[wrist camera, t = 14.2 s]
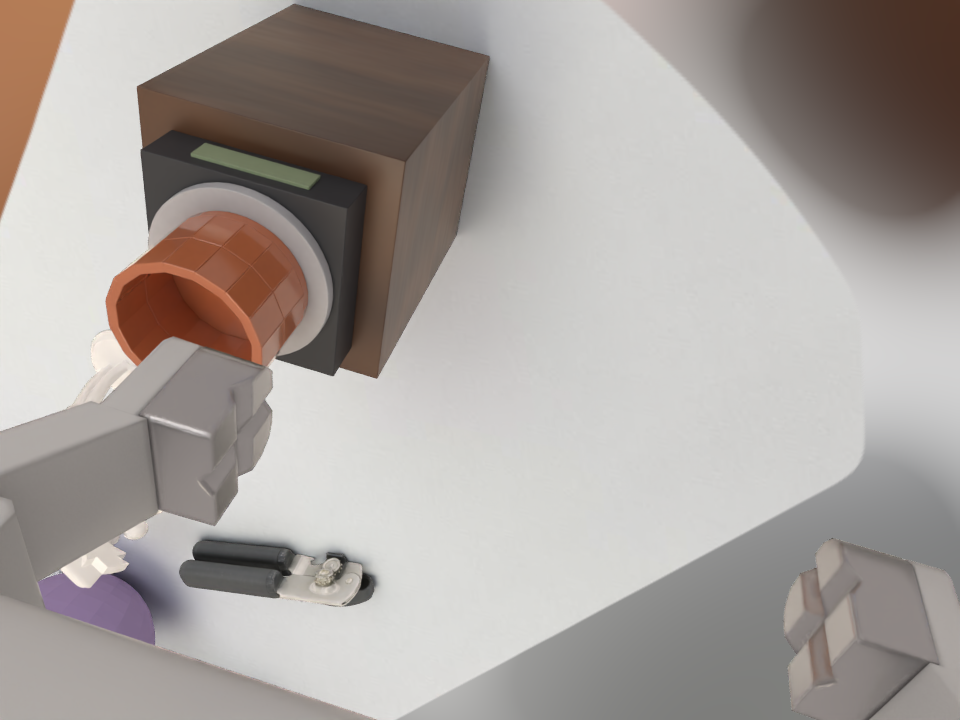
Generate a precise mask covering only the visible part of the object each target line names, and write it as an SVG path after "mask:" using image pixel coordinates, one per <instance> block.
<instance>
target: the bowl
mask: <svg viewBox="0 0 960 720" xmlns="http://www.w3.org/2000/svg"><path fill="white" fill-rule="evenodd" d="M307 306H308V289H307V283H306V280H305V277H304V274H303V271H302V269H301V267H300V265H299V263H298V261H297V260H296V258H295V256H294V255H293V254H292V252H291V251H290V250H289V248H288V247H287V246H286V245H285V244H284V243H283V242H282V241H281V240H280V239H279V238H278V237H277V236H276V235H275V234H274V233H272V232H271V231H270V230H268V229H267V228H266V227H264V226H262V225H261V224H259V223H257V222H255V221H253V220H251V219H249V218H247V217H244V216H241V215H239V214H235V213H231V212H225V211H207V212H201V213H198V214H195V215H192V216H191V217H189V218H187V219H185V220H184V221H183V222H182V223H181V224H179V225H178V226H177V227H175V228H174V229H172V230H171V231H169V232H168V233H167V234H166V235H165V236H163V237H162V238H161V239H160V240H159V241H157V242H156V243H155V244H154V245H153V246H151V247H150V248H149V249H148V250H147V251H145V252H144V253H143V254H142V255H141V256H139V257H138V258H137V259H136V260H135V261H133V262H132V263H131V264H130V265H128V266H127V267H126V268H125V269H124V270H122V271H121V272H120V273H119V274H118V275H116V276H115V277H114V278H113V281H112V284H111V286H110V289H109V292H108V294H107V297H106V308H107V315H108V321H109V326H110V329H111V331H112V332H113V334H114V336H115V338H116V340H117V341H118V343H119V345H120V347H121V349H122V350H123V352H124V353H125V355H126V356H127V357H128V358H129V359H130V360H131V361H132V362H133V363H134V364H135V365H136V366H138V365H139V364H140V363H141V362H142V361H143V360H144V359H145V358H146V357H147V356H148V355H149V354H150V353H151V352H152V351H153V350H154V349H155V348H156V347H157V346H158V345H159V344H160V343H161V342H162V341H163V340H165V339H168V338H170V337H173V336H174V337H177V338H180V339H183V340H186V341H189V342H192V343H194V344H197V345H200V346H203V347H205V346H206V347H209V348H212V349H215V350H218V351H221V352H224V353H227V354H230V355H233V356H236V357H239V358H242V359H245V360H248V361H251V362H254V363H258V364H261V365H264V366H267V367H269V366H270V365H271V363H272V362H273V361H274V359H275V358H276V357H277V355H278V354H279V353H280V351H281V350H282V349H283V347H284V346H285V345H286V343H287V342H288V341H289V339H290V338H291V337H292V335H293V334H294V332H295V331H296V329H297V327H298V326H299V325H300V323H301V322H302V320H303V318H304V316H305V314H306V311H307Z"/></svg>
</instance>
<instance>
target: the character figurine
mask: <svg viewBox="0 0 960 720" xmlns="http://www.w3.org/2000/svg"><path fill="white" fill-rule="evenodd" d="M162 512H163V511H161V510H158V514H159V513H162ZM156 515H157V514H156ZM147 531H148V525H147V523H146V522H144V521H143V522H142V523H140V524H138V525H136V526H135V527H133V528H131V529H129V530H128V531H126V532H124V533H123V534H124V536H125V537H126V538H127V539H129V540H137V539H140V538H142V537H143V536H145V535H146V533H147ZM119 538H120V535H119V536H117V537H115V538H114V539H112V540H110V541H108V542H107V543H105V544H103V545H101V546H100V547H98V548H96V549H94V550H93V551H91V552H89V553H87V554H85V555H84V556H82V557H80V558H78V559H77V560H75V561H73V562H71V563H70V564H68V565H66V566H64V567H63V568H61V569H60V570H61V571H62V572H63V573H64V574H65V575H66V576H67V577H68V578H69V579H70V580H71V581H72V582H73V583H74V584H75V585H77V586H79V587H81V588H84V587H85V588H91V587H92V585H93V584H94V583H95V582H96V581H97V580H98V578H99V577H100V576H101V575H103V574H112V573H116V572H120V571H124V570H125V569H126V567H127V566H128V564H129V563H128V562H126V561H124V560H122V559H123V558H124V556H125V555H126V554H127V553H125V552H123V551H121V550H120V549H118V548H116V547H114V546H113V545H114V544H116V543H117V542H118V541H119Z"/></svg>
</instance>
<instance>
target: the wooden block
mask: <svg viewBox="0 0 960 720" xmlns="http://www.w3.org/2000/svg"><path fill="white" fill-rule="evenodd" d="M489 59H490V56H487V55H483V54H480V53H476V52H472V51H468V50H465V49H461V48H457V47H453V46H450V45H446V44H442V43H438V42H435V41H431V40H427V39H423V38H420V37H416V36H412V35H409V34H405V33H401V32H397V31H394V30H390V29H386V28H382V27H379V26H375V25H371V24H367V23H364V22H360V21H356V20H352V19H349V18H345V17H341V16H337V15H334V14H330V13H326V12H322V11H319V10H315V9H311V8H307V7H304V6H300V5H296V4H293V5H291V6H289V7H287V8H285V9H284V10H282V11H280V12H278V13H276V14H274V15H272V16H270V17H268V18H266V19H265V20H263V21H261V22H259V23H257V24H255V25H253V26H251V27H249V28H247V29H245V30H244V31H242V32H240V33H238V34H236V35H234V36H232V37H230V38H228V39H226V40H225V41H223V42H221V43H219V44H217V45H215V46H213V47H211V48H209V49H207V50H206V51H204V52H202V53H200V54H198V55H196V56H194V57H192V58H190V59H188V60H186V61H185V62H183V63H181V64H179V65H177V66H175V67H173V68H171V69H169V70H167V71H166V72H164V73H162V74H160V75H158V76H156V77H154V78H152V79H150V80H148V81H146V82H145V83H143V84H141V85H139V86H137V94H138V105H139V115H140V125H141V135H142V146H143V148H144V147H146V146H147V145H149V144H150V143H152V142H154V141H155V140H157V139H158V138H160V137H161V136H163V135H164V134H166V133H168V132H169V131H171V130H174V131H177V132H181V133H184V134H188V135H192V136H195V137H199V138H202V139H206V140H209V141H213V142H216V143H220V144H223V145H227V146H231V147H234V148H238V149H241V150H245V151H248V152H252V153H255V154H259V155H262V156H266V157H269V158H273V159H277V160H280V161H284V162H287V163H291V164H294V165H298V166H301V167H305V168H308V169H312V170H316V171H319V172H323V173H326V174H330V175H333V176H337V177H340V178H344V179H347V180H351V181H355V182H358V183H362V184H365V185H367V196H366V206H365V216H364V226H363V236H362V246H361V256H360V266H359V276H358V286H357V296H356V306H355V316H354V326H353V336H352V346H351V349H350V351H349V352H348V354H347V356H346V357H345V359H344V360H343V362H342V363H341V365H340V368H343V369H347V370H350V371H353V372H357V373H360V374H363V375H367V376H370V377H373V378H378V376H379V374H380V373H381V371H382V369H383V367H384V365H385V364H386V362H387V360H388V358H389V356H390V355H391V353H392V351H393V349H394V347H395V346H396V344H397V342H398V340H399V338H400V336H401V335H402V333H403V331H404V329H405V327H406V326H407V324H408V322H409V320H410V318H411V317H412V315H413V313H414V311H415V309H416V308H417V306H418V304H419V302H420V300H421V299H422V297H423V295H424V293H425V291H426V290H427V288H428V286H429V284H430V282H431V280H432V279H433V277H434V275H435V273H436V271H437V270H438V268H439V266H440V264H441V262H442V261H443V259H444V257H445V255H446V253H447V252H448V250H449V248H450V246H451V244H452V243H453V241H454V239H455V237H456V234H457V229H458V224H459V218H460V213H461V208H462V202H463V197H464V192H465V186H466V181H467V176H468V170H469V165H470V160H471V154H472V149H473V144H474V138H475V133H476V128H477V122H478V117H479V112H480V106H481V101H482V96H483V90H484V85H485V80H486V74H487V69H488V64H489Z"/></svg>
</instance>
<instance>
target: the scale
mask: <svg viewBox="0 0 960 720" xmlns="http://www.w3.org/2000/svg"><path fill="white" fill-rule="evenodd" d="M141 161H142V171H143V181H144V191H145V201H146V211H147V221H148V231H149V237H148V249H149V248H150V247H151V246H153V245H154V244H155V243H156V242H157V241H159V240H160V239H161V238H162V237H163V236H165V235H166V234H167V233H168V232H169V231H171V230H172V229H174V228H175V227H177V226H178V225H179V224H181V223H182V222H183V221H184V220H185V219H187V218H189V217H191V216H192V215H195V214H198V213H201V212H207V211H225V212H231V213H235V214H239V215H241V216H244V217H247V218H249V219H251V220H253V221H255V222H257V223H259V224H261V225H262V226H264V227H266V228H267V229H268V230H270V231H271V232H272V233H274V234H275V235H276V236H277V237H278V238H279V239H280V240H281V241H282V242H283V243H284V244H285V245H286V246H287V247H288V248H289V250H290V251H291V252H292V254H293V255H294V256H295V258H296V260H297V261H298V263H299V265H300V267H301V269H302V271H303V274H304V277H305V280H306V283H307V289H308V306H307V311H306V314H305V316H304V318H303V320H302V322H301V323H300V325H299V326H298V327H297V329H296V331H295V332H294V334H293V335H292V337H291V338H290V339H289V341H288V342H287V343H286V345H285V346H284V347H283V349H282V350H281V351H280V353H279V354H278V355H277V357H276V358H275V359H277V360H281V361H284V362H287V363H291V364H294V365H297V366H301V367H304V368H307V369H310V370H314V371H317V372H320V373H324V374H327V375H330V376H334V375H335V373H336V371H337V370H338V368H339V367H340V365H341V363H342V362H343V360H344V359H345V357H346V356H347V354H348V352H349V351H350V349H351V346H352V336H353V326H354V316H355V306H356V296H357V286H358V276H359V266H360V256H361V246H362V236H363V226H364V216H365V206H366V196H367V185H365V184H362V183H358V182H355V181H351V180H347V179H344V178H340V177H337V176H333V175H330V174H326V173H323V172H319V171H316V170H312V169H308V168H305V167H301V166H298V165H294V164H291V163H287V162H284V161H280V160H277V159H273V158H269V157H266V156H262V155H259V154H255V153H252V152H248V151H245V150H241V149H238V148H234V147H231V146H227V145H223V144H220V143H216V142H213V141H209V140H206V139H202V138H199V137H195V136H192V135H188V134H184V133H181V132H177V131H174V130H171V131H169V132H168V133H166V134H164V135H163V136H161V137H160V138H158V139H157V140H155V141H154V142H152V143H150V144H149V145H147V146H146V147H144V148H143V149H141Z"/></svg>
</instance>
